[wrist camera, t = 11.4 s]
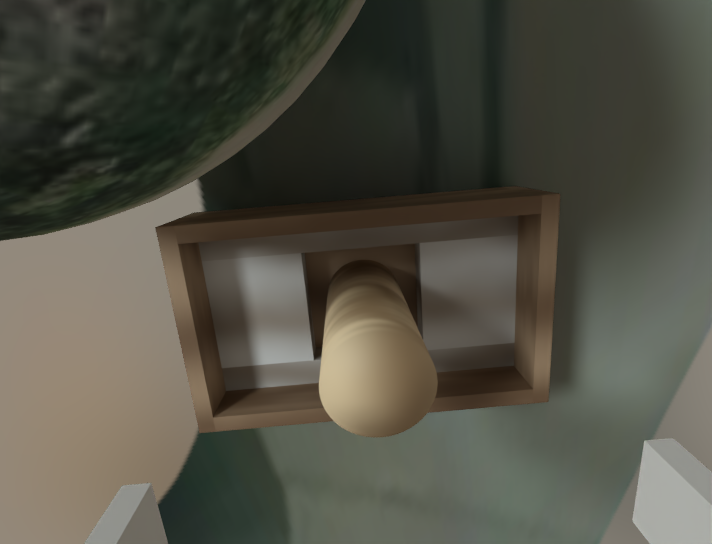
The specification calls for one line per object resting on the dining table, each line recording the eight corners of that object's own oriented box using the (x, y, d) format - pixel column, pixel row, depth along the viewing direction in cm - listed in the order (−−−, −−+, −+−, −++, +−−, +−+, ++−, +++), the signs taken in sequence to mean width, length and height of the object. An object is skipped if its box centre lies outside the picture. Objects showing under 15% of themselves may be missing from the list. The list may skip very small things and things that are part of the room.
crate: (194, 212, 28) (155, 227, 22) (515, 185, 28) (560, 193, 22) (225, 381, 31) (199, 432, 26) (510, 356, 32) (548, 401, 26)
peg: (331, 329, 29) (325, 442, 18) (324, 262, 28) (312, 337, 16) (400, 323, 29) (438, 431, 18) (396, 256, 28) (436, 326, 16)
